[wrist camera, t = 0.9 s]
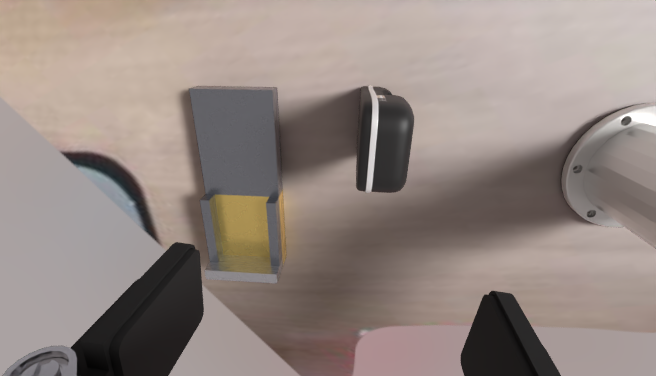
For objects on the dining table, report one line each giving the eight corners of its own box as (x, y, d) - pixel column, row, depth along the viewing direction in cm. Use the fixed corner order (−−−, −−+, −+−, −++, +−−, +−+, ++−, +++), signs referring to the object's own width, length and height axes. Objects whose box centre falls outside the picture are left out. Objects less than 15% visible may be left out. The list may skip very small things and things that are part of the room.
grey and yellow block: (277, 87, 32) (264, 94, 28) (286, 256, 40) (277, 283, 36) (198, 86, 33) (172, 93, 28) (222, 252, 41) (206, 279, 37)
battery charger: (393, 154, 34) (408, 204, 24) (356, 152, 34) (355, 201, 24) (401, 84, 31) (422, 106, 21) (360, 83, 32) (362, 103, 21)
